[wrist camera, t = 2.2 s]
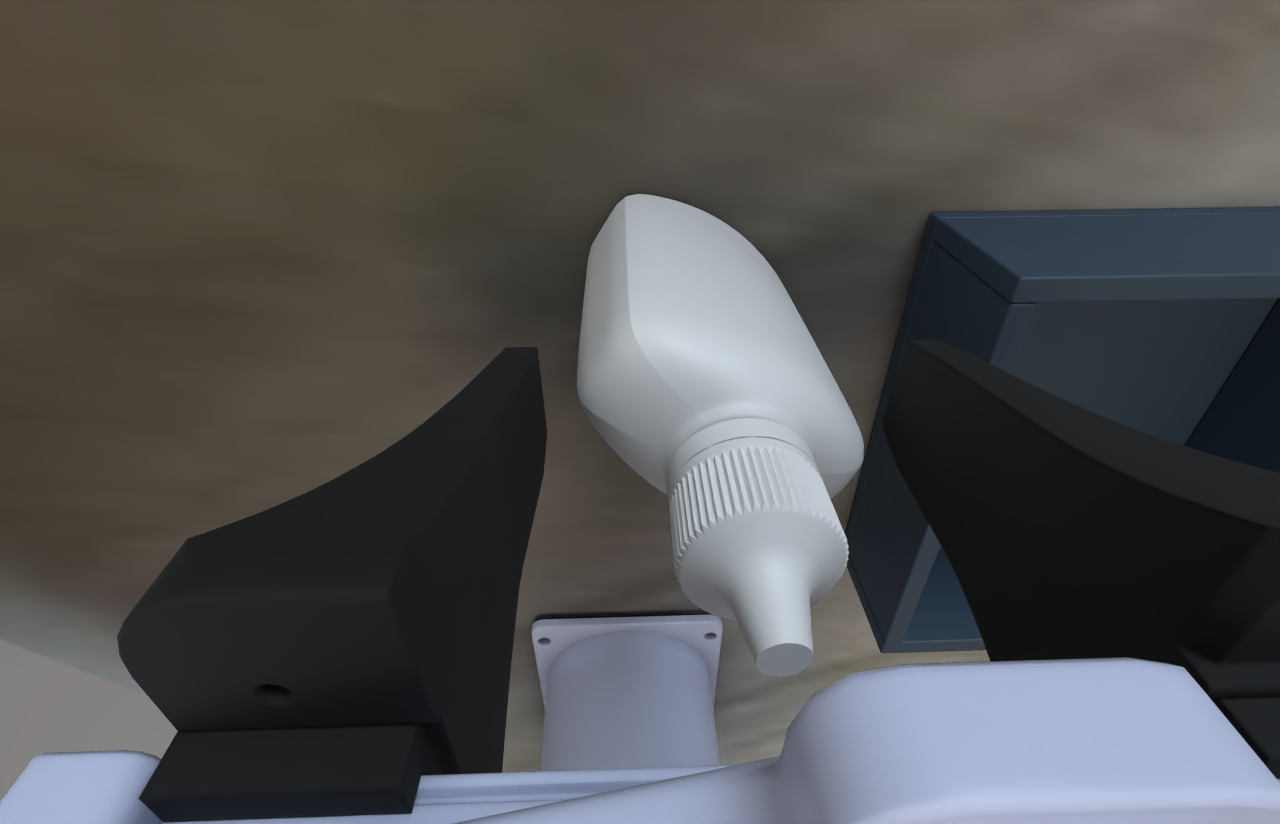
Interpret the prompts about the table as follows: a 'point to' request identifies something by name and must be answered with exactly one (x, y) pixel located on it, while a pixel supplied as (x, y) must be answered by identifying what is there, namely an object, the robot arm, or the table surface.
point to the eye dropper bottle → (720, 417)
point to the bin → (1077, 362)
